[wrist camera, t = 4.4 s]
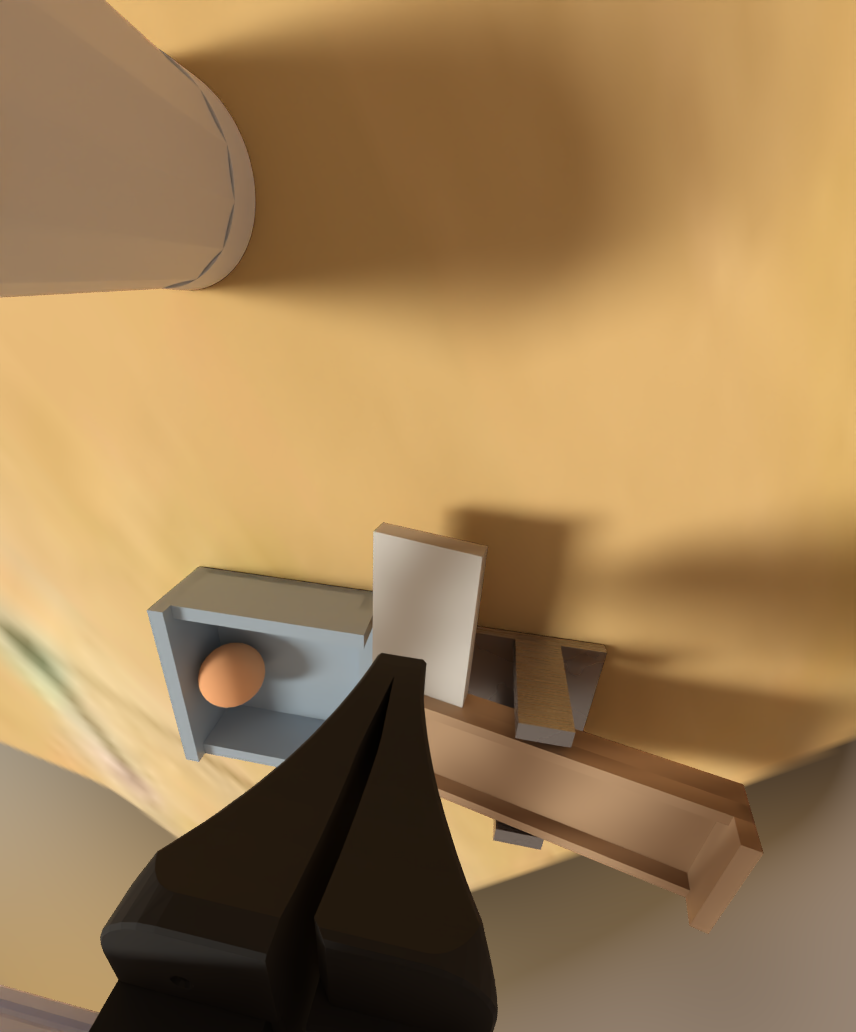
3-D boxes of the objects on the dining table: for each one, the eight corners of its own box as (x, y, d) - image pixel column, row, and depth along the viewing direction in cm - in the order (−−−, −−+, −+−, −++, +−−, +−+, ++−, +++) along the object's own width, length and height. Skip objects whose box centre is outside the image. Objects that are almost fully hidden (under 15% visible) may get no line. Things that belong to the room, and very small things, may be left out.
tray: (382, 593, 20) (360, 643, 17) (379, 732, 25) (361, 793, 21) (198, 566, 22) (146, 610, 18) (225, 704, 26) (186, 759, 22)
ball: (273, 652, 21) (209, 685, 19) (278, 697, 22) (219, 733, 20) (243, 621, 23) (182, 649, 21) (250, 665, 24) (193, 695, 22)
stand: (604, 645, 20) (634, 742, 15) (572, 752, 23) (589, 859, 18) (471, 625, 20) (462, 713, 16) (457, 731, 24) (447, 830, 19)
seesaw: (835, 625, 12) (878, 683, 10) (695, 867, 18) (706, 936, 16) (383, 522, 16) (352, 550, 14) (378, 744, 22) (356, 786, 20)
